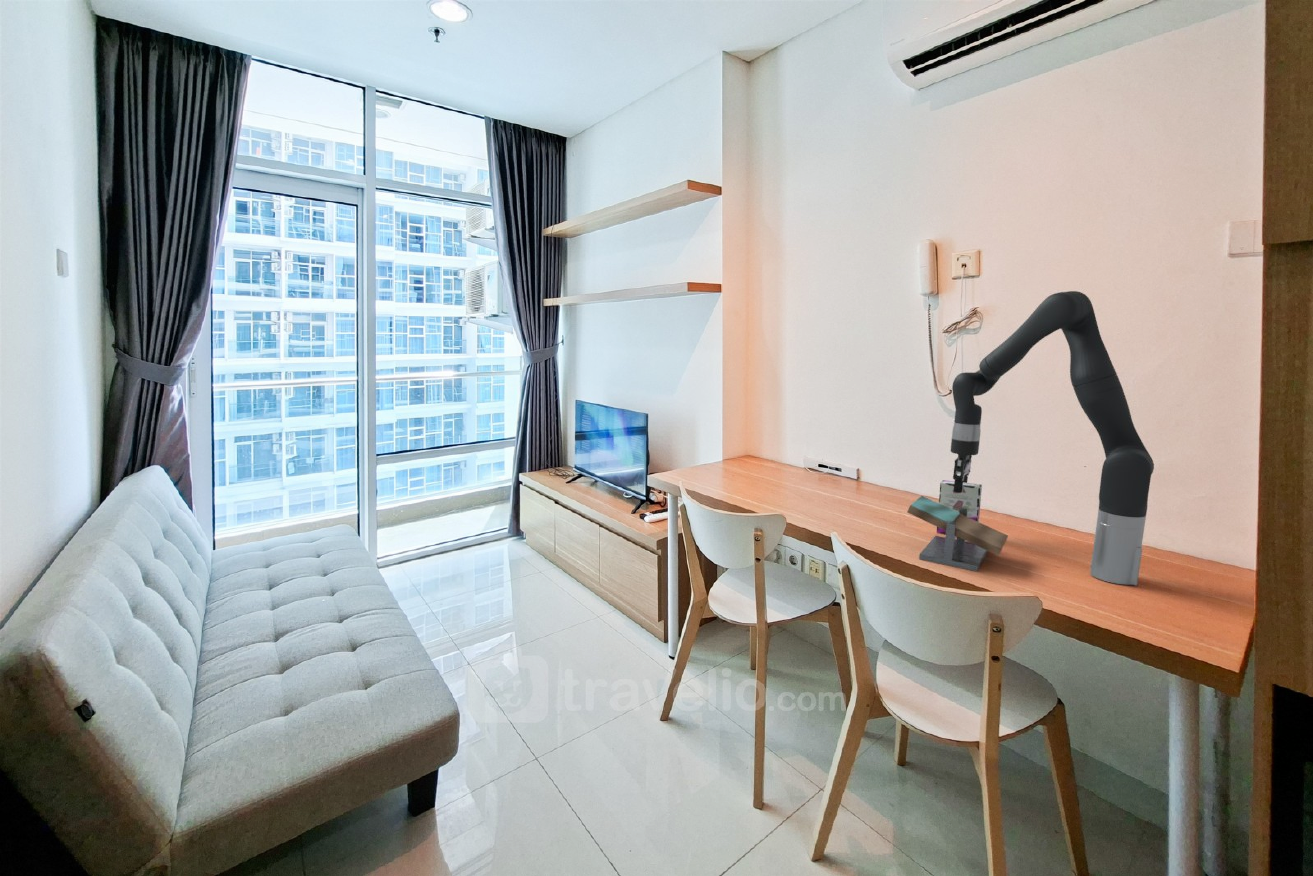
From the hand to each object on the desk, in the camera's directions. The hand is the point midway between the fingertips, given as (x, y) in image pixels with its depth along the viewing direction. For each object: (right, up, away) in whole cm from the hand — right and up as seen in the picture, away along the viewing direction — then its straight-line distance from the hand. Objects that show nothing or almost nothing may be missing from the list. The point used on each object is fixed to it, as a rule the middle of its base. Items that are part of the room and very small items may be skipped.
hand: (960, 489), depth 175 cm
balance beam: (-10, -8, -18) cm, 22 cm away
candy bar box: (0, -14, +2) cm, 15 cm away
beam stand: (-10, -17, -16) cm, 25 cm away
